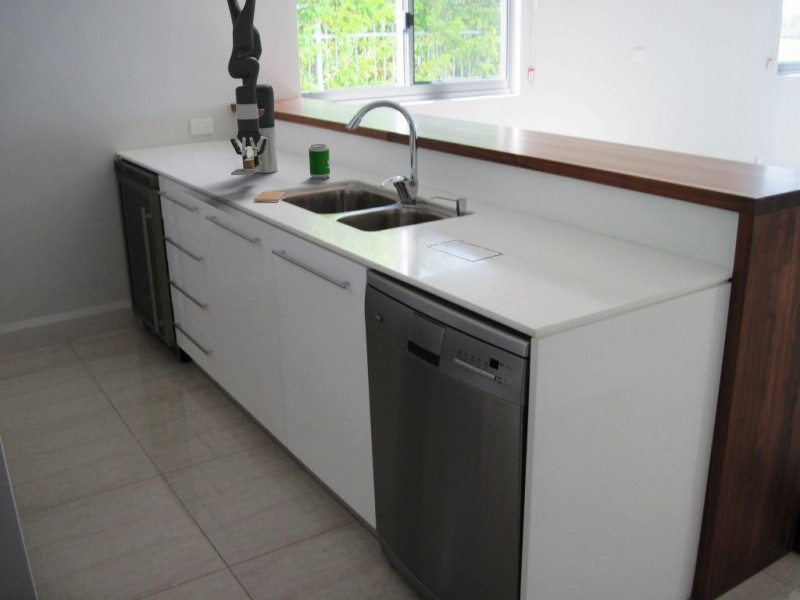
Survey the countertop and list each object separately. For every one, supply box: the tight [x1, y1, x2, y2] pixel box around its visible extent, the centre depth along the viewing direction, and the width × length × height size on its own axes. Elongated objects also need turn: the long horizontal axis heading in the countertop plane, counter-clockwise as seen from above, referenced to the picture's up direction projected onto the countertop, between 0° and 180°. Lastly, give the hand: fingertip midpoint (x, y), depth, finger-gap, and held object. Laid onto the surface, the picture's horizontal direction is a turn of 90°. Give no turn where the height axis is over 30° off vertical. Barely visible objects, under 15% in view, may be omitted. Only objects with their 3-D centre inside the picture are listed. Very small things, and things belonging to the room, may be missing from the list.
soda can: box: [308, 143, 331, 179], centre depth 297 cm, size 8×8×12 cm
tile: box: [253, 191, 286, 203], centre depth 265 cm, size 2×8×11 cm
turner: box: [230, 154, 262, 176], centre depth 279 cm, size 22×7×4 cm, turn 175°
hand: (251, 166), depth 281 cm, fingers closed on turner, 3 cm apart
